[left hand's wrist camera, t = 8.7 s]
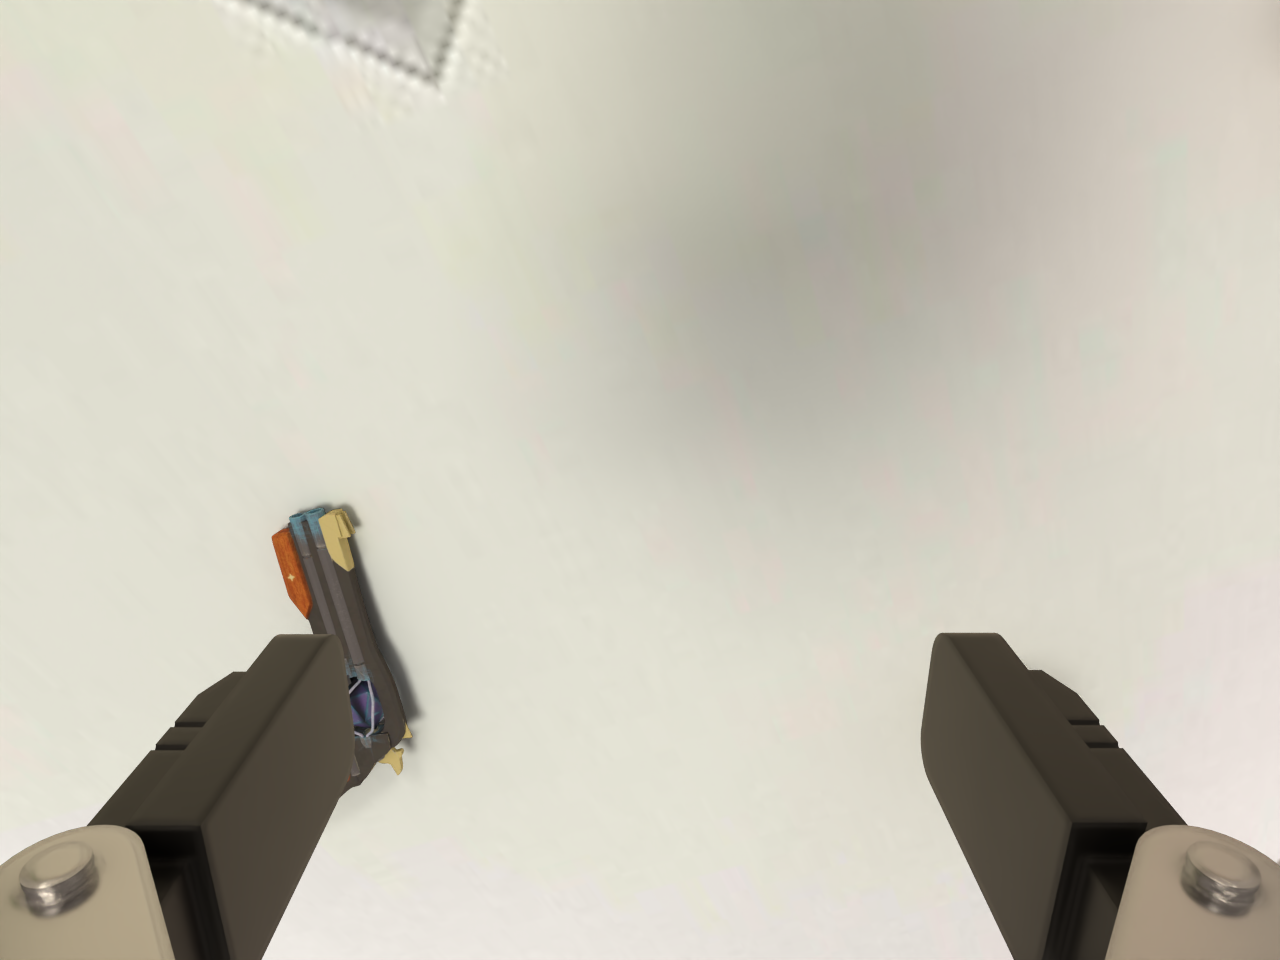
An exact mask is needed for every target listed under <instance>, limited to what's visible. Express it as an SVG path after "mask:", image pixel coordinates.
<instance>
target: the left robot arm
mask: <svg viewBox="0 0 1280 960" xmlns="http://www.w3.org/2000/svg"><path fill="white" fill-rule="evenodd" d="M354 749H355V732H354V724H353V717H352V709H351V702H350V695H349V688H348V681H347V673H346V666H345V659H344V652H343V647H342V644H341V641H340V639H339V638H338V636H336V635H334V634H280V635H277V636H275V637H274V638H273V639H272V640H271V641H270V643H269V644H268V645H267V646H266V648H265V649H264V650H263V651H262V653H261V654H260V655H259V656H258V658H257V659H256V660H255V661H254V663H253V664H252V665H251V667H250V668H249V669H248V670H247V672H232V673H231V674H229V675H228V676H226V677H225V678H223V679H222V680H220V681H218V682H217V683H215V684H214V685H212V686H211V687H209V688H208V689H206V690H205V691H203V692H202V693H200V694H199V695H197V697H196V698H195V699H194V700H193V701H192V702H191V704H190V705H189V706H188V707H187V708H186V710H185V711H184V712H183V713H182V714H181V715H180V717H179V718H178V719H177V720H176V721H175V727H170V728H169V730H168V731H167V732H166V733H165V734H164V735H163V737H162V738H161V739H160V740H159V741H158V743H157V744H156V749H155V750H151V751H150V752H149V753H148V754H147V755H146V757H145V758H144V759H143V760H142V761H141V763H140V764H139V765H138V766H137V767H136V768H135V770H134V771H133V772H132V773H131V774H130V776H129V777H128V778H127V779H126V780H125V781H124V783H123V784H122V785H121V786H120V787H119V788H118V790H117V791H116V792H115V793H114V794H113V796H112V797H111V798H110V799H109V800H108V801H107V803H106V804H105V805H104V806H103V807H102V809H101V810H100V811H99V812H98V813H97V814H96V816H95V817H94V818H93V819H92V820H91V821H90V823H89V824H88V825H87V826H86V827H80V828H76V829H72V830H68V831H65V832H62V833H59V834H56V835H53V836H51V837H48V838H46V839H44V840H41V841H39V842H37V843H35V844H33V845H31V846H29V847H27V848H26V849H24V850H22V851H21V852H19V853H18V854H16V855H14V856H13V857H11V858H10V859H9V860H7V861H6V862H5V863H3V864H2V865H1V866H0V960H261V959H262V957H263V955H264V953H265V951H266V949H267V947H268V945H269V943H270V941H271V939H272V937H273V935H274V933H275V930H276V928H277V926H278V924H279V922H280V920H281V918H282V916H283V914H284V912H285V910H286V908H287V906H288V903H289V901H290V899H291V897H292V895H293V893H294V891H295V889H296V887H297V885H298V883H299V881H300V879H301V876H302V874H303V872H304V870H305V868H306V866H307V864H308V862H309V860H310V858H311V856H312V854H313V852H314V850H315V847H316V845H317V843H318V841H319V839H320V837H321V835H322V833H323V831H324V829H325V827H326V825H327V823H328V820H329V818H330V816H331V814H332V812H333V810H334V808H335V806H336V804H337V802H338V800H339V798H340V796H341V793H342V791H343V789H344V787H345V785H346V783H347V781H348V778H349V775H350V772H351V768H352V764H353V758H354ZM921 751H922V759H923V764H924V768H925V772H926V775H927V778H928V780H929V782H930V784H931V786H932V788H933V791H934V793H935V795H936V797H937V799H938V801H939V803H940V805H941V807H942V809H943V812H944V814H945V816H946V818H947V820H948V822H949V824H950V826H951V828H952V831H953V833H954V835H955V837H956V839H957V841H958V843H959V845H960V847H961V849H962V852H963V854H964V856H965V858H966V860H967V862H968V864H969V866H970V868H971V870H972V873H973V875H974V877H975V879H976V881H977V883H978V885H979V887H980V889H981V891H982V894H983V896H984V898H985V900H986V902H987V904H988V906H989V908H990V910H991V912H992V915H993V917H994V919H995V921H996V923H997V925H998V927H999V929H1000V931H1001V933H1002V936H1003V938H1004V940H1005V942H1006V944H1007V946H1008V948H1009V950H1010V952H1011V954H1012V957H1013V959H1014V960H1280V866H1279V865H1278V864H1277V863H1275V862H1274V861H1273V860H1271V859H1270V858H1269V857H1267V856H1266V855H1264V854H1262V853H1261V852H1259V851H1258V850H1256V849H1254V848H1253V847H1251V846H1249V845H1247V844H1245V843H1243V842H1241V841H1239V840H1236V839H1234V838H1232V837H1229V836H1227V835H1224V834H1221V833H1218V832H1215V831H1212V830H1208V829H1204V828H1200V827H1194V826H1188V825H1187V824H1186V823H1185V821H1184V820H1183V819H1182V818H1181V817H1180V815H1179V814H1178V813H1177V812H1176V811H1175V810H1174V808H1173V807H1172V806H1171V805H1170V804H1169V802H1168V801H1167V800H1166V799H1165V798H1164V796H1163V795H1162V794H1161V793H1160V792H1159V791H1158V789H1157V788H1156V787H1155V786H1154V785H1153V783H1152V782H1151V781H1150V780H1149V779H1148V777H1147V776H1146V775H1145V774H1144V773H1143V771H1142V770H1141V769H1140V768H1139V767H1138V766H1137V764H1136V763H1135V762H1134V761H1133V760H1132V758H1131V757H1130V756H1129V755H1128V754H1127V752H1126V751H1125V750H1124V749H1123V748H1119V747H1118V742H1117V741H1116V739H1115V738H1114V737H1113V736H1112V735H1111V733H1110V732H1109V731H1108V730H1107V729H1106V727H1105V726H1104V725H1100V724H1099V719H1098V718H1097V717H1096V716H1095V714H1094V713H1093V712H1092V711H1091V710H1090V708H1089V707H1088V706H1087V705H1086V704H1085V703H1084V701H1083V700H1082V699H1081V698H1080V697H1079V695H1078V694H1077V693H1076V692H1074V691H1073V690H1071V689H1070V688H1068V687H1066V686H1065V685H1063V684H1062V683H1060V682H1059V681H1057V680H1056V679H1054V678H1053V677H1051V676H1050V675H1048V674H1047V673H1045V672H1044V671H1042V670H1028V669H1027V668H1026V667H1025V665H1024V664H1023V663H1022V661H1021V660H1020V659H1019V658H1018V656H1017V655H1016V654H1015V653H1014V651H1013V650H1012V649H1011V647H1010V646H1009V645H1008V644H1007V642H1006V641H1005V640H1004V638H1003V637H1002V636H1001V635H999V634H997V633H940V634H939V635H937V637H936V639H935V641H934V644H933V648H932V654H931V662H930V669H929V676H928V683H927V691H926V698H925V705H924V713H923V720H922V728H921Z"/></svg>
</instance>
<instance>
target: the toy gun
mask: <svg viewBox="0 0 1280 960" xmlns="http://www.w3.org/2000/svg"><path fill="white" fill-rule="evenodd" d="M289 520H290V523H288V527H289V528H286V529H282V530H280V531H279V532H277V533H276V534H274V535H273V536H272V541H273V545H274V549H275V552H276V555H277V559H278V562H279V565H280V569H281V572H282V575H283V579H284V582H285V585H286V589H287V592H288V595H289V597H290V599H291V600H292V601H293V603H294V604H295V605H296V606H297V608H298V609H299V610H300V612H301V613H302V614H303V615H304V617H305V618H306V619H308V620H309V622H310V625H311V628H312V631H313V634H334V635H336V636H338V638H339V639H340V641H341V644H342V647H343V652H344V659H345V666H346V673H347V681H348V688H349V695H350V702H351V709H352V717H353V724H354V726H360V727H356V728H354V732H355V749H354V758H353V764H352V768H351V772H350V775H349V778H348V781H347V783H346V785H345V787H344V789H343V791H342V793H341V796H342V795H343V794H344V793H345V792H346V791H348V790H349V789H350V788H352V787H355V786H359V785H360V784H361V783H362V782H363V780H364V779H365V778H366V777H367V776H368V775H369V773H370V772H371V770H372V769H373V767H374V766H375V764H376V762H380V763H389V764H391V765H392V767H393V769H394V770H395V772H396V773H397V775H399V774H400V773H401V771H402V769H403V762H402V754H403V752H404V749H403V748H401V749H397V750H396V748H395V746H396V745H397V744H398V743H399V742H400V741H401V740H402V738H411V737H412V735H411V733H410V730H409V728H408V726H407V721H406V717H405V713H404V710H403V707H402V703H401V700H400V697H399V693H398V690H397V687H396V684H395V681H394V679H393V677H392V674H391V672H390V670H389V668H388V666H387V664H386V662H385V660H384V658H383V656H382V655H381V653H380V651H379V649H378V647H377V644H376V641H375V638H374V635H373V631H372V628H371V625H370V622H369V618H368V615H367V612H366V608H365V605H364V602H363V598H362V594H361V591H360V587H359V584H358V580H357V576H356V573H355V568H354V567H355V566H354V562H353V558H352V554H351V551H350V547H349V543H348V540H347V537H351V535H350V534H354V533H356V532H355V530H354V528H353V526H352V524H351V522H350V520H349V517H348V515H347V513H346V511H343V510H342V509H336V510H332V511H329V512H328V513H327V514H325V511H324V508H317V509H313V510H310V511H308V512H302V513H297V514H295V515H292V516H290V517H289ZM383 718H384V725H378V724H379V722H380V721H381V720H382V719H383ZM341 796H340V797H341Z"/></svg>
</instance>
